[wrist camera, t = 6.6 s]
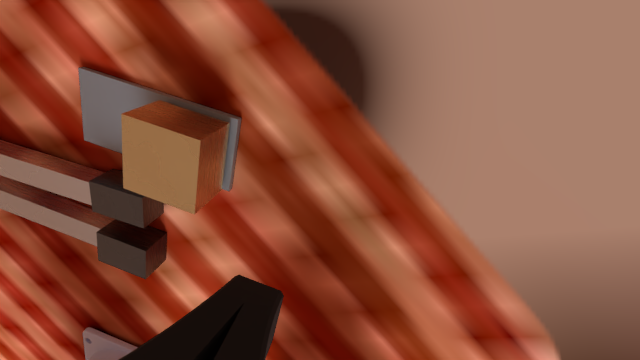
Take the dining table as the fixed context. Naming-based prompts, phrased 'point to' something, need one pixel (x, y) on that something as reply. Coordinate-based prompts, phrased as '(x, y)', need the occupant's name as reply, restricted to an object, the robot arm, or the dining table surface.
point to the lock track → (122, 96)
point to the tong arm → (79, 184)
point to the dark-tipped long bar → (88, 227)
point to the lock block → (173, 154)
